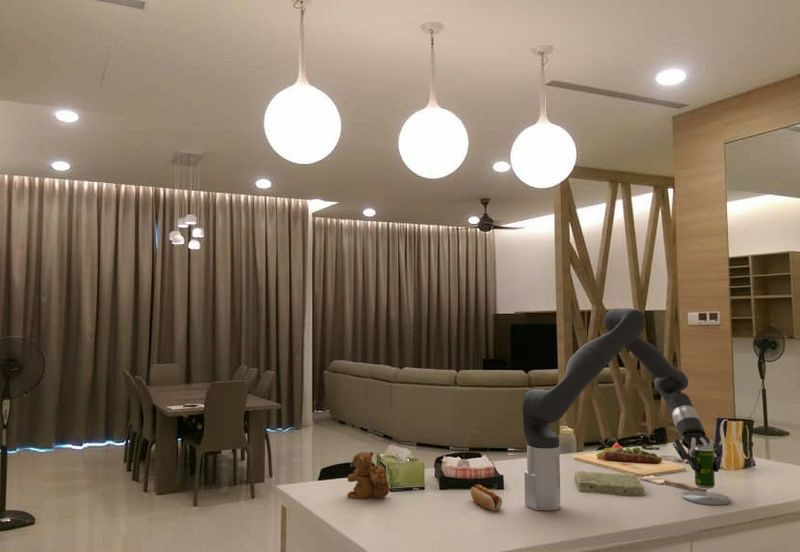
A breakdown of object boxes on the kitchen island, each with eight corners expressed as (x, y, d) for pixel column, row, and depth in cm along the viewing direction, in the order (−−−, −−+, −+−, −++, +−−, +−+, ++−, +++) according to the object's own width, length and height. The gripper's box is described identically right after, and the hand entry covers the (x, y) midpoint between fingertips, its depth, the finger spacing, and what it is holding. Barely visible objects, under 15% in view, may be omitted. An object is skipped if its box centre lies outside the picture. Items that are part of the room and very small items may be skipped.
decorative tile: (574, 480, 215) (574, 469, 215) (636, 483, 211) (636, 472, 211) (577, 494, 197) (577, 482, 197) (645, 498, 193) (645, 486, 193)
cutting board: (570, 460, 248) (570, 440, 248) (614, 454, 258) (613, 436, 259) (642, 479, 217) (641, 457, 217) (688, 472, 227) (687, 451, 228)
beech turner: (711, 492, 198) (710, 488, 198) (699, 494, 195) (698, 490, 195) (651, 477, 217) (651, 473, 217) (639, 479, 214) (639, 476, 214)
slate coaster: (706, 507, 181) (706, 504, 181) (672, 495, 193) (672, 493, 193) (740, 502, 186) (740, 500, 186) (705, 491, 198) (705, 489, 198)
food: (467, 500, 189) (467, 483, 189) (483, 499, 190) (483, 482, 191) (488, 513, 175) (488, 495, 176) (506, 511, 177) (505, 493, 178)
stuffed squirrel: (361, 489, 200) (361, 447, 201) (398, 496, 193) (398, 452, 194) (341, 496, 192) (342, 452, 193) (379, 504, 184) (380, 458, 185)
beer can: (709, 484, 193) (708, 444, 194) (718, 488, 187) (716, 447, 188) (691, 484, 193) (690, 444, 194) (700, 488, 187) (698, 447, 188)
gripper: (668, 416, 199) (687, 463, 186) (714, 416, 199) (735, 463, 186) (662, 430, 204) (679, 477, 191) (706, 430, 204) (727, 477, 191)
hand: (707, 470), depth 189 cm, fingers closed on beer can, 5 cm apart
